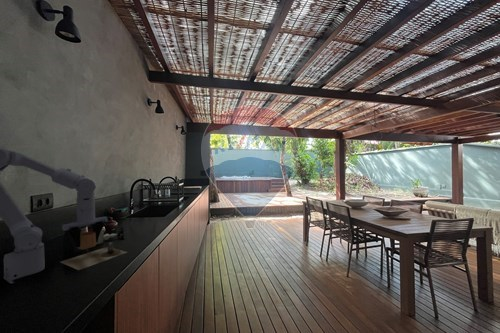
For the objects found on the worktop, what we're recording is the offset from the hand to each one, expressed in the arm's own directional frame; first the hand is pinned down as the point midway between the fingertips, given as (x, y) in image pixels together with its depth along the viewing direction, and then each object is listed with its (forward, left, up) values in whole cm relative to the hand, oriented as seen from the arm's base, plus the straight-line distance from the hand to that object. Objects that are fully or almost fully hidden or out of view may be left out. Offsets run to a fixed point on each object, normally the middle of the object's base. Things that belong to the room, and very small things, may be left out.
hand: (87, 244), depth 85 cm
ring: (0, 0, -1) cm, 1 cm away
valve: (+15, +13, -7) cm, 21 cm away
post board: (+2, -3, -6) cm, 7 cm away
